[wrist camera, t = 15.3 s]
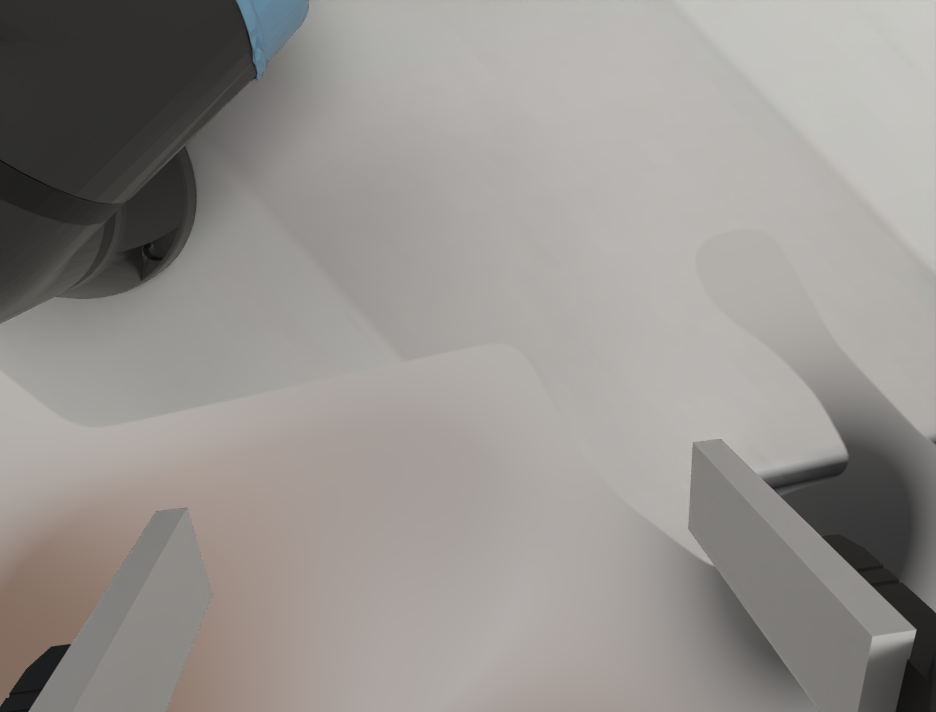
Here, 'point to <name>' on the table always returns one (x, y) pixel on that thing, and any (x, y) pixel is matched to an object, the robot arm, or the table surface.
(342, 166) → the table surface
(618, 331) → the table surface
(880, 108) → the table surface
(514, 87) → the table surface
